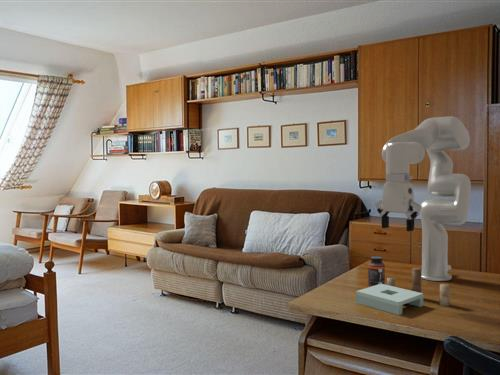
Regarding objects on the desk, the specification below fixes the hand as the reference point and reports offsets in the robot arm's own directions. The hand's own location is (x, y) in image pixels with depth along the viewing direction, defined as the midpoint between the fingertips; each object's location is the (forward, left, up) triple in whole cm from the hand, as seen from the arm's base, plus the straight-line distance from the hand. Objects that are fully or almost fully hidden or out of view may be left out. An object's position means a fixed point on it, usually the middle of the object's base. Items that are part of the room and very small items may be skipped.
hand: (397, 229), depth 151 cm
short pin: (-6, -6, -24) cm, 25 cm away
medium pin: (-6, +14, -24) cm, 28 cm away
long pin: (-6, +4, -24) cm, 25 cm away
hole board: (+7, +2, -24) cm, 25 cm away
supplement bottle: (-7, -13, -24) cm, 28 cm away
